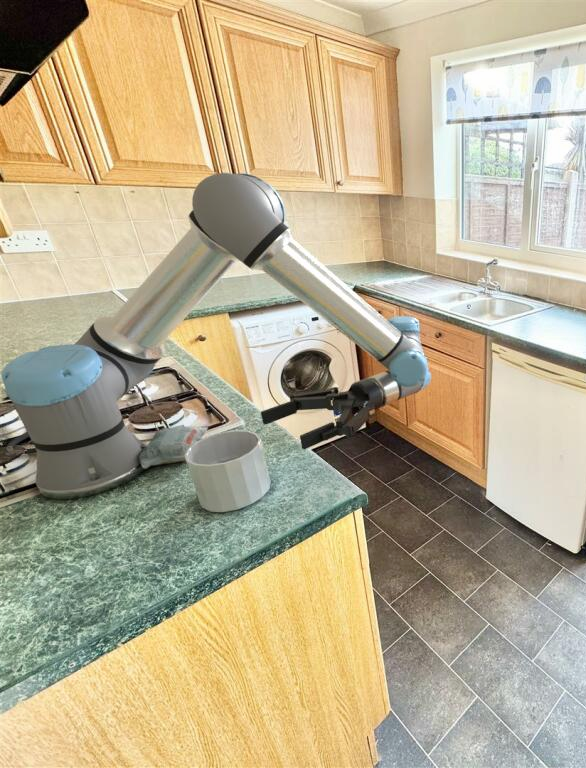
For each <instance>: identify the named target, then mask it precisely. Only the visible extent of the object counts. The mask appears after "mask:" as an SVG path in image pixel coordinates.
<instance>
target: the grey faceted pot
mask: <svg viewBox="0 0 586 768" xmlns="http://www.w3.org/2000/svg"><path fill="white" fill-rule="evenodd" d="M184 457H185V460H186V461H185V463H186V466H187V468H188V469H187V470H188V472H189V475H190V477H191V478H190V479H191V481H192V484H193V486H194V487H193V488H194V490H195V493H196V495H197V499H198V502H199V505H200V507H201V508H202V509H204V510H206V511H208V512H213V513H225V512H231V511H237V510H240V509H243V508H246V507H247V506H251V505H253V504H254V503H255V502H257V501H259V500H260V499H262V498H263V497H264V496H265V494H267V492H269V490H270V487H271V483H272V481H271V480H272V479H271V477H270V472H269V468H268V464H267V459H266V455H265V450H264V446H263V442H262V438H261V437H260V435H259V434H258V433H256V432H254V431H252V430H251V431H250V430H243V429H235V430H228V431H227V430H226V431H222V432H218V433H214V434H210V435H208V436H206V437H204V438H201V439H200V440H199V441H197V442H196V443H194V444H193V445H192V446H191V447H189V448H188V449H187V451H186V453H185V455H184Z"/></svg>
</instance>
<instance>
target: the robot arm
mask: <svg viewBox="0 0 586 768" xmlns="http://www.w3.org/2000/svg"><path fill="white" fill-rule="evenodd" d="M191 205H192V210H191V212H190V213H189V214H188V216H187V218H188V221H189V224H190V229H188V231H187V232H186V233H185V234H184V235H183V236H182V238H181V239H180V240H179V241H178V242H177V244H175V246H173V248H172V249H171V251H169V252H168V254H166V256H165V257H164V258H163V259H162V261H161V262H160V263H159V264H158V265H157V266H156V267H155V268H154V269H153V271H152V272H151V273H150V274H149V275H148V277H147V278H145V280H144V281H143V282H142V283H141V284H140V286H139V287H138V288H137V289H136V290H135V291H134V292H133V293H132V295H130V297H129V298H128V299H127V300H126V301H125V303H124V304H123V305H122V306H121V307H120V308H119V309H118V310H117V311H116V312H115V314H114V315H108V316H107V315H106V316H105V315H104V316H101V317H99V318H97V319H96V320H95V321H94V322H93V323H92V324H91V325H90V327H89V328H88V329H87V330H86V331H85V332H84V333H83V335H82V336H81V337H79V339H78V340H77V341H76V342H75V343H73V344H59V345H58V344H57V345H53V346H52V345H51V346H46V347H42V348H39V349H38V350H35V351H28V352H26V353H23V354H21V355H19V356H16V357H14V358H13V359H11V360H10V361H9V362H7V364H6V365H5V366H4V367H3V368H2V370H1V375H0V376H1V380H2V383H3V386H4V392H5V395H6V396H7V398H8V399H9V400H10V401H11V403H12V405H13V407H14V409H15V411H16V412H17V415H18V417H19V418H20V420H21V422H22V425H23V426H24V428H25V430H26V432H24V433H22V434H21V435H18V436H17V437H16V438H14V439H12V440H11V441H9V442H8V443H7V444H6V446H14V447H16V446H17V445H18V444H19V443H21V442H23V441H24V440H26V439H27V438H30V440H31V442H32V444H33V446H34V447H31V448H30V447H29V448H25V449H26V450H27V451H25V454H24V455H29V454H36V475H35V485H36V487H37V489H38V491H39V493H40V494H41V495H42V496H44V497H46V498H49V499H55V500H71V499H72V500H73V499H79V498H84V497H89V496H93V495H96V494H97V495H98V494H100V493H103V492H107V491H109V490H112V489H114V488H116V487H120V486H121V485H123V484H125V483H127V482H129V481H132V480H133V479H134V478H136V477H138V476H139V475H140V474H142V473H143V472H144V471H145V470H146V469H144V468H143V467H142V466H141V463H140V461H139V457H140V454H141V453H142V452H143V451H144V449H145V448H146V447H147V446H146V445H145V444H144V443H143V442H142V441H141V440H140V439H139V438H138V437H137V436H136V435H135V434H134V433H133V432H132V430H130V429H129V428H128V427H127V426H126V424H125V421H124V419H123V415H122V413H121V410H120V408H119V406H118V401H119V400H120V399H122V398H123V397H124V396H125V395H126V394H128V392H129V391H131V390H132V389H134V387H135V386H136V385H138V384H139V383H140V382H142V381H144V380H145V379H146V378H147V377H148V376H150V374H151V373H152V372H153V370H154V368H155V366H156V364H157V363H158V362H159V361H160V359H162V358H163V356H164V355H165V353H166V346H165V345H164V342H165V341H166V340H167V338H168V337H169V336H170V335H172V334H173V332H174V331H175V330H176V328H178V326H179V325H180V324H181V323H182V322H183V321H184V320H185V318H187V316H188V315H189V314H190V313H191V312H192V311H193V310H194V309H195V307H196V306H198V305H199V303H200V302H201V301H203V299H204V298H205V296H206V295H207V294H208V293H209V292H210V291H211V290H212V289H213V288H214V286H216V284H217V283H218V282H219V281H220V280H221V279H222V278H223V276H225V275H226V274H227V272H228V271H229V270H230V269H231V268H232V267H233V266H234V264H235V263H236V262H237V261H240V262H241V263H242V264H243V265H245V266H246V267H247V268H248V269H250V270H251V271H262V272H263V273H265V274H266V275H267V276H269V277H270V278H271V279H273V281H275V282H276V283H278V284H279V285H280V286H282V288H284V289H285V290H286V291H288V292H289V293H290V294H292V295H293V296H294V297H295V298H296V299H298V300H299V301H301V302H302V303H303V304H304V305H306V306H307V307H308V308H309V309H311V310H312V311H313V312H314V313H316V315H318V316H319V317H321V318H322V319H324V320H325V321H326V322H327V323H329V324H330V325H331V326H332V327H334V328H335V329H336V330H337V331H339V332H340V333H342V334H343V335H344V336H345V337H346V338H348V339H349V340H350V341H351V342H353V343H354V344H355V345H357V347H359V348H361V349H362V350H363V351H364V352H365V353H367V354H368V355H370V356H371V357H372V358H373V359H374V360H376V361H377V362H378V363H379V364H381V365H382V366H383V367H384V368H386V369H387V370H386V371H382V372H379V373H377V374H374V375H372V376H369V377H367V378H363V379H360V380H357V381H355V382H353V383H352V384H351V385H350V387H349V388H348V390H346V391H340V390H339V387H338V386H333V387H330V388H327V389H320V390H313V391H307V392H298V393H292V394H289V395H288V397H289V401H287V402H284V403H281V404H279V405H276V406H273V407H270V408H267V409H264V410H261V411H260V416H261V420H262V424H263V425H269V424H271V423H274V422H277V421H279V420H281V419H284V418H287V417H290V416H293V415H295V414H297V413H298V411H310V410H325V409H326V410H327V411H336V412H338V413H339V414H340V416H339V417H338V419H336V420H335V422H334V421H331V422H329V423H326V424H324V425H322V426H318V427H317V428H314V429H312V430H310V431H308V432H307V431H306V432H305V433H303V434H300V435H299V438H300V439H299V440H300V446H301V449H302V450H307V449H309V448H312V447H314V446H316V445H318V444H320V443H323V442H325V441H328V440H331V439H333V438H335V437H342V436H345V437H346V438H347V439H350V438H352V437H354V435H356V433H357V432H358V431H359V430H360V429H361V428H362V427H363V426H364V425H365V424H366V423H367V422H368V420H370V419H372V418H374V417H375V416H376V411H377V410H379V409H381V408H383V407H386V406H388V405H390V404H393V403H394V402H397V401H400V400H402V399H405V398H407V397H409V396H411V395H414V394H418V393H419V392H421V391H423V390H424V389H426V388H427V387H428V386H429V385H430V383H431V380H432V374H431V372H430V370H429V369H430V368H429V366H428V358H427V357H426V354H425V352H424V348H423V345H422V342H421V330H420V329H421V328H420V321H419V319H418V318H416V317H414V316H409V315H408V316H407V315H399V316H393V317H390V318H388V319H386V318H385V317H384V315H383V316H382V314H380V313H379V311H377V310H376V309H375V308H374V307H372V306H371V305H370V304H369V303H368V302H366V301H365V300H364V299H363V298H362V297H361V296H360V295H358V294H357V293H356V292H355V291H354V290H353V289H351V288H350V287H349V286H348V285H347V284H346V283H345V282H343V280H341V279H340V278H339V277H338V276H336V274H334V273H333V272H332V271H331V270H329V268H327V266H325V265H324V264H323V263H321V262H320V261H319V260H318V259H317V258H316V257H314V256H313V255H312V254H311V253H310V252H309V251H307V249H305V248H304V247H303V246H302V245H300V244H299V242H297V241H296V240H294V239H293V235H292V229H291V227H288V226H287V224H285V219H286V209H285V204H284V202H283V200H282V197H281V196H280V194H279V193H278V192H277V191H276V189H275V188H274V187H273V186H272V185H271V184H269V183H268V182H266V181H265V180H263V179H261V178H259V177H258V176H256V175H253V174H250V173H241V172H240V173H239V172H238V173H228V172H222V173H220V172H219V173H215V174H211V175H209V176H207V177H205V178H204V179H203V180H201V181H200V182H199V183H198V184H197V185H196V187H195V189H194V190H193V195H192V201H191Z"/></svg>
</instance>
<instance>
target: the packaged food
mask: <svg viewBox="0 0 586 768" xmlns="http://www.w3.org/2000/svg"><path fill="white" fill-rule="evenodd" d="M207 430H209V427H208V425H202V426H199V427H198V426H185V425H184V424H180V425H177V426H172V427H168V428H164V429H159V430H157V431H156V432H154V434H153V436H152V438H151V440H150V441H149V443H148V444H147V446H146V448H145V449H144V451H143V452H142V453H141V454H140V457H139V461H140V463H141V466H142V467H143V468H144V469H145V470H146V469H149V467H151V466H159V465H167V464H173V463H180V462H186V460H185V457H184V455H185V453H186V451H187V449H188V448H189V447H191V446H192V445H193V444H194V443H196V442H197V441H199V440H201V439H203V437H204V436H205V435H204V434H205V433H206V432H207Z"/></svg>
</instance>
